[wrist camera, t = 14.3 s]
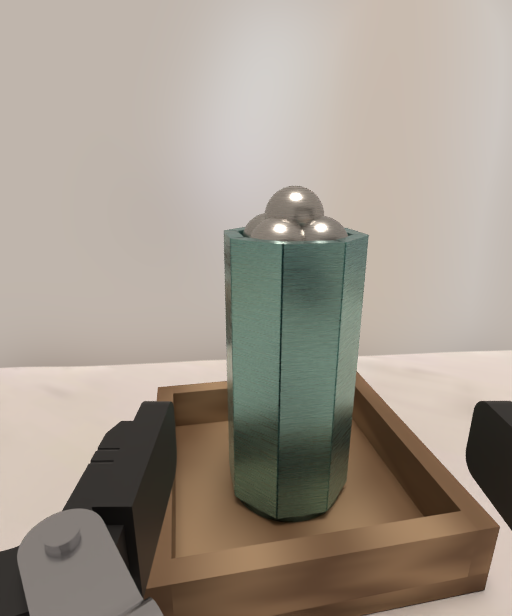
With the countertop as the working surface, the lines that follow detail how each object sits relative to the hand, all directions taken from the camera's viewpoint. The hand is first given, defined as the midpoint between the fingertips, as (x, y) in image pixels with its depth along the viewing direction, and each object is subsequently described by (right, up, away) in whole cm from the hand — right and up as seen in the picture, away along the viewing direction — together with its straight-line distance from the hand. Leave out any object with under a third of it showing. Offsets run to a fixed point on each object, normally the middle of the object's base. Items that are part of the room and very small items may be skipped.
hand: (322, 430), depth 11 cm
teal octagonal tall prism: (0, -6, +11) cm, 13 cm away
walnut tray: (0, -7, +12) cm, 14 cm away
